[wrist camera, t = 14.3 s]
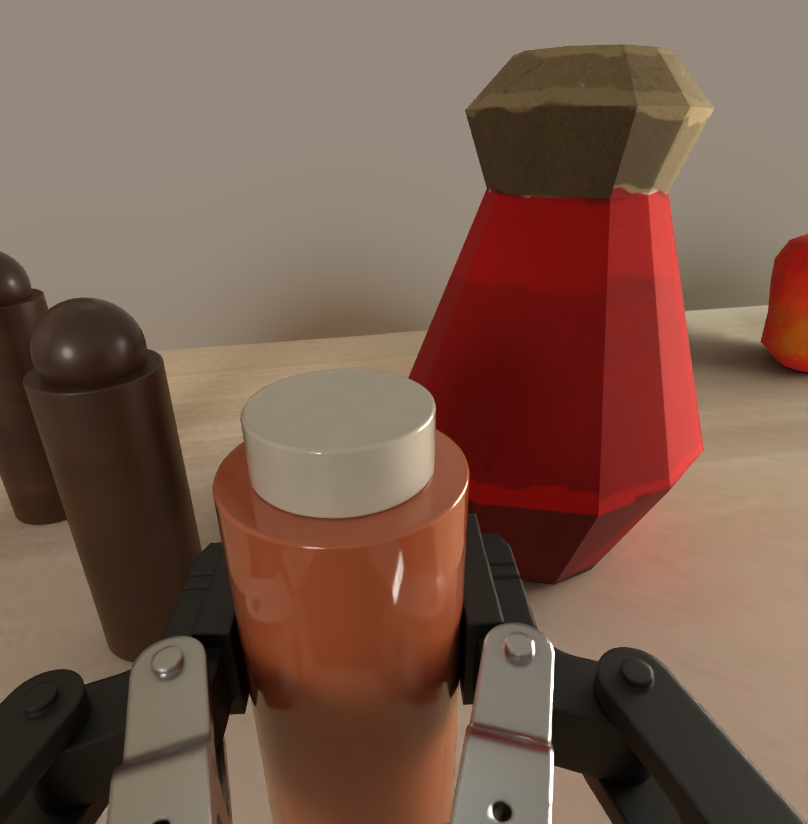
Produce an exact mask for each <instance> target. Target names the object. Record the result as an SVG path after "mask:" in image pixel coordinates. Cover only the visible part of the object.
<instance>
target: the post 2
mask: <svg viewBox="0 0 808 824" xmlns="http://www.w3.org/2000/svg"><path fill="white" fill-rule="evenodd" d="M30 354H31V359H32V362H33V364H34V367H35V368H33V369H32V370H30V371H29V372H28V373H27V374H26V375H25V377H24V379H23V385H24V388H25V391H26V395H27V398H28V401H29V404H30V407H31V410H32V413H33V416H34V419H35V422H36V425H37V428H38V431H39V434H40V437H41V441H42V444H43V447H44V450H45V453H46V456H47V459H48V462H49V465H50V468H51V471H52V474H53V477H54V480H55V483H56V487H57V490H58V493H59V496H60V499H61V502H62V505H63V508H64V511H65V514H66V517H67V520H68V523H69V526H70V530H71V533H72V536H73V539H74V542H75V545H76V548H77V551H78V554H79V557H80V560H81V563H82V566H83V569H84V572H85V576H86V579H87V582H88V585H89V588H90V591H91V594H92V597H93V600H94V603H95V606H96V609H97V612H98V615H99V618H100V622H101V625H102V628H103V631H104V634H105V637H106V640H107V643H108V646H109V648H110V650H111V651H112V652H113V653H114V654H115V655H117V656H118V657H120V658H122V659H124V660H127V661H131V662H135V660H136V658H137V657H138V656H139V655H140V654H141V653H142V652H143V651H144V650H145V649H146V648H148V647H149V646H151V645H152V644H154V643H156V642H158V641H160V640H161V639H162V637H163V635H164V632H165V630H166V628H167V625H168V623H169V620H170V618H171V616H172V613H173V611H174V609H175V606H176V604H177V602H178V599H179V597H180V594H181V592H182V591H183V590H184V585H185V583H186V580H187V578H188V577H189V573H190V571H191V568H192V566H193V564H194V561H195V559H196V557H197V556H198V555H199V554H200V553H201V552H202V549H201V544H200V539H199V534H198V529H197V524H196V520H195V515H194V510H193V505H192V500H191V495H190V490H189V485H188V480H187V475H186V470H185V465H184V461H183V456H182V451H181V446H180V441H179V436H178V431H177V426H176V421H175V416H174V411H173V407H172V402H171V397H170V392H169V387H168V382H167V377H166V372H165V367H164V362H163V359H162V357H161V356H160V354H158V353H157V352H155V351H152V350H149V349H147V347H146V341H145V338H144V335H143V332H142V330H141V329H140V327H139V325H138V324H137V322H136V321H135V320H134V319H133V318H132V316H130V315H129V314H128V313H127V312H126V311H125V310H123V309H122V308H120V307H118V306H117V305H115V304H113V303H110V302H107V301H105V300H100V299H96V298H74V299H69V300H66V301H63V302H61V303H58V304H57V305H55V306H53V307H51V308H50V309H49V310H47V311H46V312H45V313H44V314H43V315H42V316H41V317H40V319H39V320H38V322H37V323H36V325H35V327H34V329H33V331H32V335H31V339H30Z"/></svg>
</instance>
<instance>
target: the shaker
mask: <svg viewBox="0 0 808 824" xmlns="http://www.w3.org/2000/svg"><path fill="white" fill-rule="evenodd" d="M241 426H242V433H243V439H244V442H242V443H241V444H239V445H238V446H237V447H236V448H235V449H234V450H232V451H231V452H230V453H229V454H228V456H227V457H226V458H225V459H224V460H223V462H222V463H221V465H220V466H219V468H218V470H217V473H216V475H215V478H214V484H213V495H214V502H215V507H216V513H217V518H218V524H219V529H220V535H221V540H222V545H223V551H224V556H225V562H226V567H227V573H228V578H229V584H230V589H231V595H232V600H233V605H234V611H235V616H236V622H237V627H238V633H239V638H240V644H241V649H242V655H243V660H244V666H245V671H246V676H247V682H248V687H249V693H250V698H251V704H252V709H253V715H254V720H255V726H256V731H257V736H258V742H259V747H260V753H261V758H262V764H263V769H264V775H265V780H266V786H267V791H268V796H269V802H270V807H271V813H272V818H273V824H444V823H449V822H450V817H451V811H452V805H453V797H454V777H455V758H456V738H457V718H458V698H459V678H460V658H461V638H462V618H463V599H464V579H465V559H466V539H467V519H468V500H469V480H470V473H469V466H468V463H467V460H466V457H465V455H464V454H463V452H462V450H461V449H460V448H459V446H458V445H457V444H456V443H455V442H454V441H453V440H452V439H450V438H449V437H448V436H447V435H445V434H444V433H442V432H440V431H439V430H437V429H436V404H435V401H434V398H433V397H432V395H431V393H430V392H429V391H428V390H427V389H426V388H425V387H423V386H422V385H421V384H419V383H417V382H415V381H413V380H411V379H408V378H406V377H403V376H400V375H397V374H392V373H388V372H383V371H376V370H367V369H331V370H322V371H314V372H309V373H304V374H299V375H295V376H292V377H288V378H285V379H282V380H279V381H277V382H274V383H272V384H270V385H268V386H266V387H264V388H262V389H261V390H259V391H258V392H256V393H255V394H254V395H252V396H251V397H250V398H249V399H248V400H247V402H246V403H245V405H244V407H243V409H242V412H241Z"/></svg>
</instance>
